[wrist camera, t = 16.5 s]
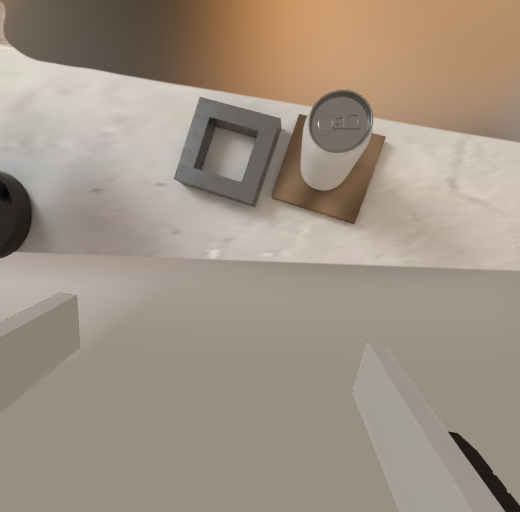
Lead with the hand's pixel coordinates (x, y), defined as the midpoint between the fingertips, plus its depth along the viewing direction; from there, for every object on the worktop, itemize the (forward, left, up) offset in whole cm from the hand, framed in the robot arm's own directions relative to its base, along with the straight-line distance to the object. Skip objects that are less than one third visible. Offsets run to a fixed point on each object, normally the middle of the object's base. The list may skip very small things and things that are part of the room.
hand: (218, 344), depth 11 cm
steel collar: (-12, +16, -25) cm, 32 cm away
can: (+2, +17, -24) cm, 30 cm away
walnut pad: (+2, +18, -25) cm, 31 cm away
